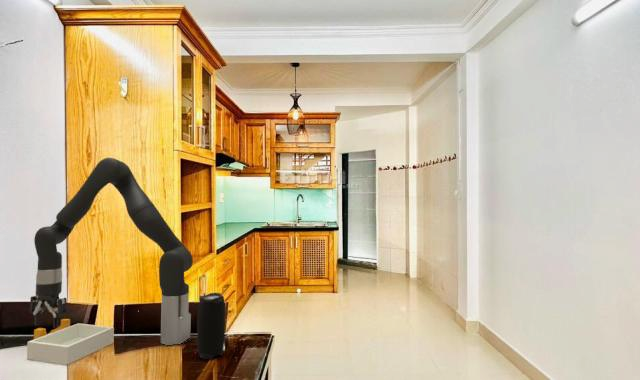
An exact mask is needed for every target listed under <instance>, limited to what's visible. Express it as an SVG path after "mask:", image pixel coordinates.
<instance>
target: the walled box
mask: <svg viewBox="0 0 640 380" xmlns="http://www.w3.org/2000/svg"><path fill="white" fill-rule="evenodd" d="M114 331H115V327H113V326H104V325H96V324H87V323H76V324H73V325H70V327H67V328H64V329H61V330H59V331H56V332H53V333H50V332H49V333H50V334H48V333H47V334H48V335H45V336H42V337H40V338H37V339H34V338H33V339H31V340H29V341H27V345H26V348H27V349H26V352H27V353H26V360H31V361H37V362H42V363H43V362H44V363H50V364H56V365H63V366H64V365H65V366H68V365H70V364H72V363H75V362H77V361H79V360H81V359H82V358H85V357H87V356H89V355H91V354H93V353H96V352H97V351H99V350H102V349H104V348H106V347H108V346H110V345H113V344H114V341H115V340H114V338H115V337H114V335H115V332H114Z"/></svg>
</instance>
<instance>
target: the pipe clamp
mask: <svg viewBox="0 0 640 380" xmlns="http://www.w3.org/2000/svg"><path fill="white" fill-rule="evenodd" d="M70 326H71V318H63V319H62V318H61V325H60V327H57V328H54V329H51V330H50V331H49V332H48V333H47V331H46V330H47V328H43V327H38V328H36V329H34V330H33V340H34V339H37V338H40V337H42V336H45V335H48V334H50V333H53V332H56V331H59V330H61V329H64V328H67V327H70Z"/></svg>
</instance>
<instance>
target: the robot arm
mask: <svg viewBox="0 0 640 380" xmlns="http://www.w3.org/2000/svg"><path fill="white" fill-rule="evenodd" d="M108 184H111V185H113V187H114V188H116V190H117V191H118V192H119V194H120V195H121V196H122V198H123V200H124V201H123V202H124V204H125V207H126V211H127V214H128V216H129V218H130V219H131V221H132V222H133V224H134V225H135V227H136V228H137V229H138V230H139V231H140V233H142V234H143V235H144V236H146V238H148V239H150V240H151V241H152V242H154V243H155V244H156V245H157V246H158V247H159V248H160V249H161V250H162V252H163V254H162V255H161V257H160V259H159V265H158V268H159V269H158V277H159V279H158V280H159V283H158V284H159V287H160V290H161V306H160V307H161V309H160V310H161V312H160V313H161V314H160V316H161V317H160V344H161V343H162V344H165V345H164V346H166V345H173V344H181V343H183V342H184V341H186V340H187V339H188V338H190V339H191V329H192V328H191V321H192V320H191V319H192V318H191V317H192V313H190V312H189V307H190V306H189V301H190V299H189V298H190V296H189V295H190V294H189V293H190V286H189V284H188V283H187V282H185V272H187V271H189V270H190V269H191V268H192V266H193V265H194V264H193V263H194V261H193V260H194V259H193V258H194V257H193V256H192V253H191V251H190V250H189V249H188V248H187V247H186V246H185V245H184V244H183V243H182V241H181V240H180V239H179V238H178V237H177V235H176V234H175V233H174V232H173V230H172V228H171V227H170V226H169V224H168V223H167V222H166V220H165V219H164V217H163V216H162V214H161V213H160V210H159V209H158V208H157V207H156V206H155V204H154V203H153V201H152V200H151V199H150V198H149V197H148V195H147V194H146V192H145V191H144V190H143V189H142V188H141V186H140V184H139V183H138V181H137V179H136V177H135V175H134V174H133V172H132V170H131V169H130V167H129V166H128V164H126V163H125V162H123V161H121V160H118V159H117V158H114V157H113V158H112V157H105V158H103V159H101V160H100V161H98V163H97V164H96V165H95V167H94V168H93V170H92V171H91V172H90V174H89V176H88V177H87V178H86V180H85V182H84V183H83V184H82V185H81V187H80V189H78V191H77V192H76V194H75V195H74V196H73V197H72V198H71V199H70V200H69V201H68V202H67V203H66V204H65V205H64V207H62V208H61V209H60V210H59V211H58V213H57V214H56V217H55V219H56V220H55V221H54V223H52V225H50V226H49V225H48V226H43V227H40V228H39V229H38V230H36V232H35V235H34V247H35V251H36V256H37V258H38V259H37V271H36V276H35V295H32V296H30V302H29V313H30V314H32V315H33V316H34V326H40V325H42V324H43V312H44V310H47V311H48V312H49V313H51V314H52V316H53V320H52V321H53V322H52V326H53V328H54V329H56V328H58V327H60V325H61V320H62V316H65V315H67V309H68V308H67V307H68V306H67V305H68V303H67V302H68V301H67V300H68V299H67V298H66V297H63V298H60V294H61V293H62V288H63V284H62V283H63V264H62V263H63V256H62V253H61V252H59V251H58V249H57V245H60V244H61V243H63V242H64V241H65V240H66V239H67V238H68V237H69V236H70V234H71V233H72V231H73V229H75V226H76V225H77V224H78V223H80V221H81V220H82V219H83V218H84V217H85V216H86V215H87V214H88V212H89V210H90V209H91V208H92V206H93V203H94V201H95V198H96V197H97V196H98V194H99V192H100V191H101V190H102V189H103V188H105V187H106V186H107V185H108ZM186 342H187V341H186ZM162 344H161V345H162ZM183 344H184V343H183ZM181 345H182V344H181ZM173 346H174V345H173Z"/></svg>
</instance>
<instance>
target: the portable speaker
mask: <svg viewBox="0 0 640 380" xmlns="http://www.w3.org/2000/svg"><path fill="white" fill-rule="evenodd" d="M198 301H199V303H198V310H197V317H196V318H197V319H196V320H197V322H196V327H197V328H196V330H197V332H196V336H197V337H196V339H197V354H198V355H199V359H201V358H203V359H202V360H204V359H211V360H212V359H213V358H214V357H216V356H220V355H221V354H222V353H223V352H224V348H225V347H224V345H225V340H226V339H225V338H226V337H225V336H226V332H225V331H226V307H225V304H226V303H225V297H224V296H223V295H222V294H221V293H220V292H210V293H208V294H205V295H200V296H199V300H198ZM223 354H224V353H223ZM221 356H222V355H221Z"/></svg>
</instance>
